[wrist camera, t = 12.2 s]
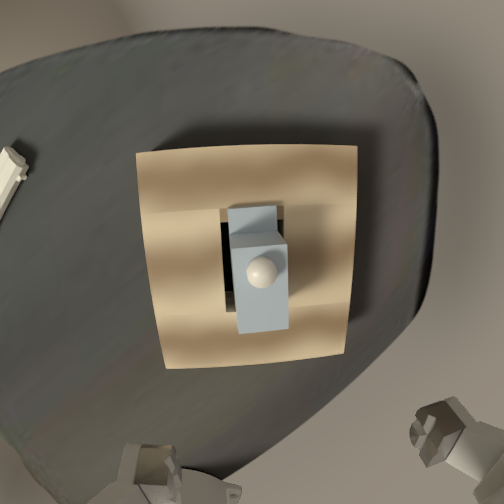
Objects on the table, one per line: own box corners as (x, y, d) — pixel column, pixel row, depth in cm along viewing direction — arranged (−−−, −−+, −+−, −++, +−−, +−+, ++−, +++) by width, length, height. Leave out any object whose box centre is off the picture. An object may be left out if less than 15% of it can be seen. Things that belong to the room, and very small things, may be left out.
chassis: (330, 331, 31) (343, 353, 27) (171, 344, 30) (166, 368, 26) (338, 146, 26) (357, 146, 22) (148, 152, 24) (135, 153, 21)
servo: (271, 300, 29) (291, 356, 21) (234, 304, 29) (241, 362, 21) (266, 196, 27) (289, 217, 18) (226, 199, 26) (229, 222, 18)
